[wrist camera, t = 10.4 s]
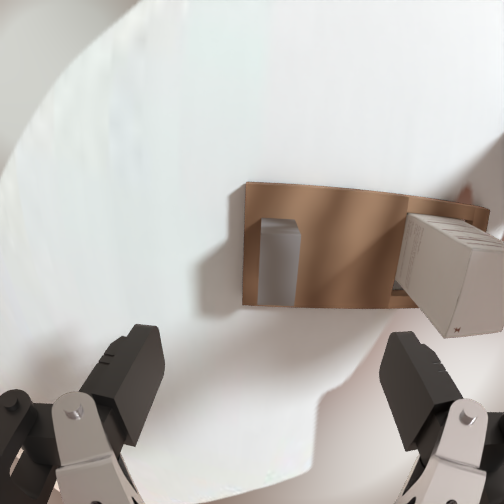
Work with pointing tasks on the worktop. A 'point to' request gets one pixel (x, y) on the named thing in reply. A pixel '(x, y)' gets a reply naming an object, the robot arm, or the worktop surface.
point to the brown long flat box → (331, 244)
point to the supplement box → (453, 274)
